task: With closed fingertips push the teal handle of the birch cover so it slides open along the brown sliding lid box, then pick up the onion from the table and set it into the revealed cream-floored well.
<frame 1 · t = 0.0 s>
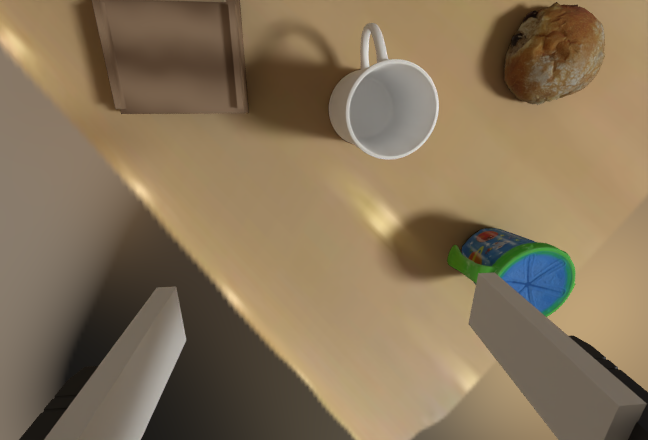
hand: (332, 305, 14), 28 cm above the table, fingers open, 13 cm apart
mug: (363, 94, 38), on the table
snack cup: (483, 249, 46), on the table
bread roll: (537, 58, 38), on the table
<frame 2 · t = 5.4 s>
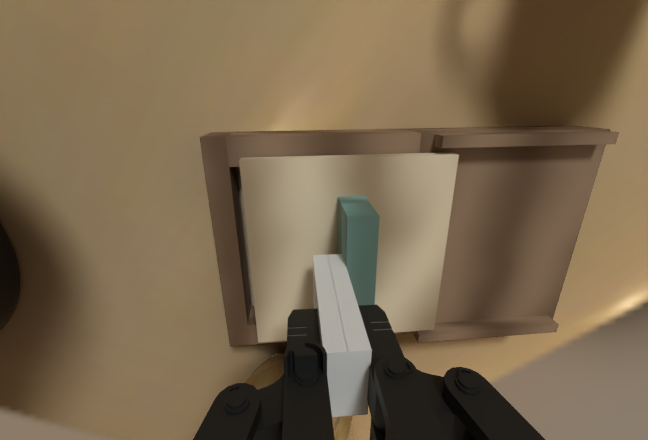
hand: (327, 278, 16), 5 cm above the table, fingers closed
onion: (295, 371, 25), on the table
brown sliding lid box: (393, 229, 21), on the table
cover: (353, 266, 17), point 5 cm above the table, slide at 1.2 cm, touching gripper
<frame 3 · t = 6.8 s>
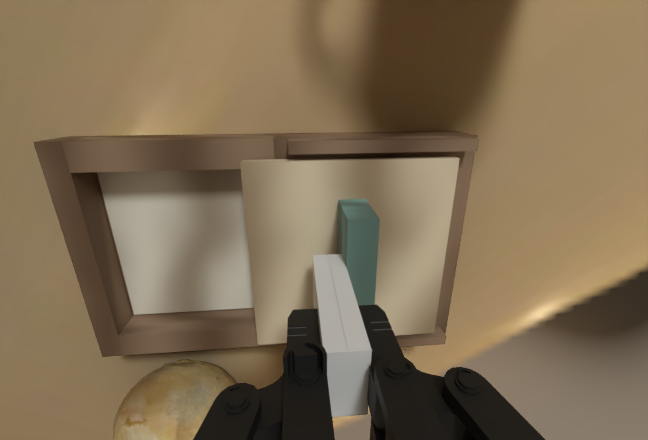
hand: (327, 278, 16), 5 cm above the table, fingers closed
onion: (195, 381, 25), on the table
brown sliding lid box: (277, 237, 21), on the table
cover: (353, 269, 17), point 5 cm above the table, slide at 8.9 cm, touching gripper
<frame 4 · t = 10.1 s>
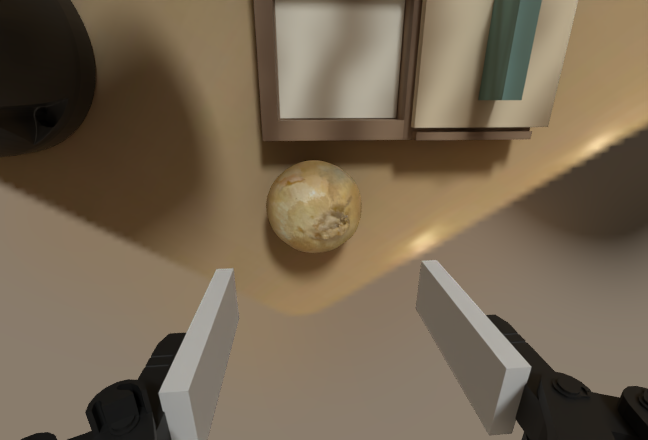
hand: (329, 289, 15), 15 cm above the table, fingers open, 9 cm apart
onion: (312, 196, 30), on the table
brown sliding lid box: (396, 54, 26), on the table
cover: (504, 46, 22), point 5 cm above the table, slide at 11.0 cm
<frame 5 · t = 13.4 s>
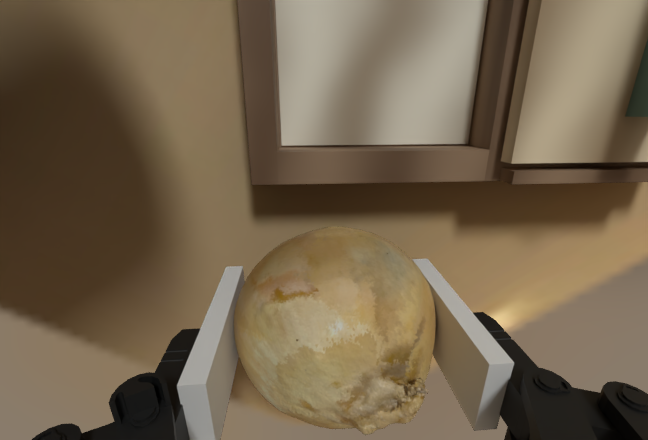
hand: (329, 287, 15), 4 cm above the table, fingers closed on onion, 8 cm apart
onion: (328, 280, 16), point 3 cm above the table, touching gripper
brown sliding lid box: (473, 41, 16), on the table
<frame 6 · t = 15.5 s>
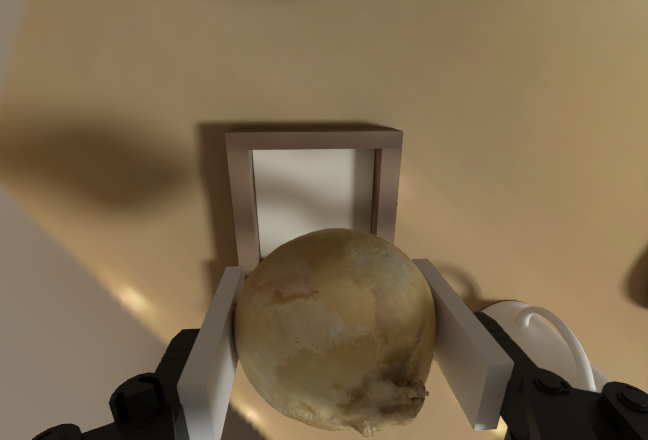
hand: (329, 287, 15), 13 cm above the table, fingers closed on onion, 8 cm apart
onion: (328, 281, 16), point 13 cm above the table, touching gripper
brown sliding lid box: (315, 252, 29), on the table
mug: (501, 319, 34), on the table
when the fingers open (4 cm above the table, at t = 17.5 s): onion drops 3 cm, resting on brown sliding lid box.
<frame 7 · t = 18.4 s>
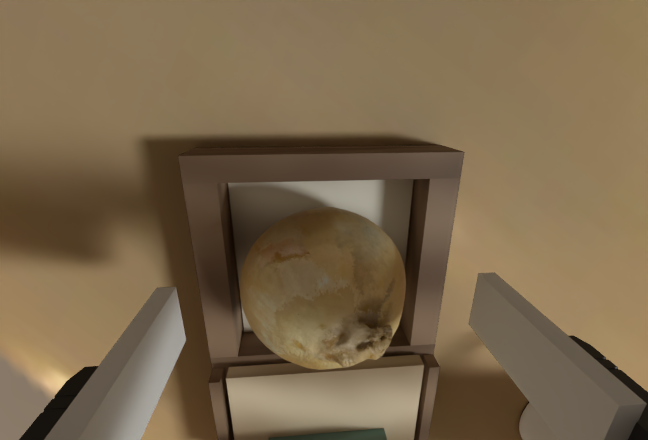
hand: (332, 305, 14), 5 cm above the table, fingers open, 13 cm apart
onion: (319, 256, 18), resting on brown sliding lid box
brown sliding lid box: (322, 319, 21), on the table
mug: (570, 396, 26), on the table
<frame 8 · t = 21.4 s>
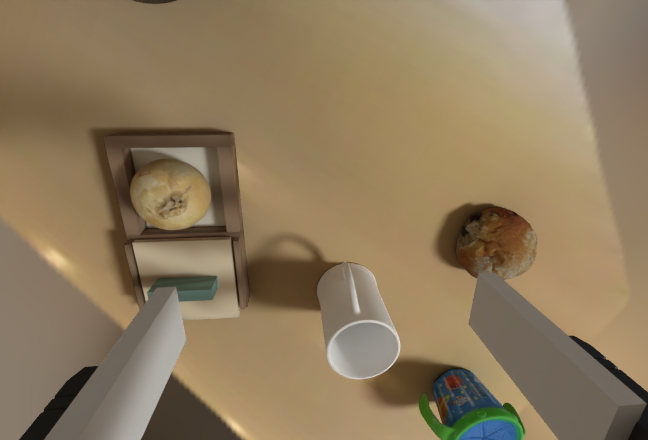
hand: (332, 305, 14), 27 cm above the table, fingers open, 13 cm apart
onion: (181, 187, 38), resting on brown sliding lid box
brown sliding lid box: (189, 223, 40), on the table
mug: (346, 278, 45), on the table
snack cup: (452, 382, 54), on the table
bread roll: (485, 238, 45), on the table
cover: (185, 287, 38), point 5 cm above the table, slide at 11.0 cm
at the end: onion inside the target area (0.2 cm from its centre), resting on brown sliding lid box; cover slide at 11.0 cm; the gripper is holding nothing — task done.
